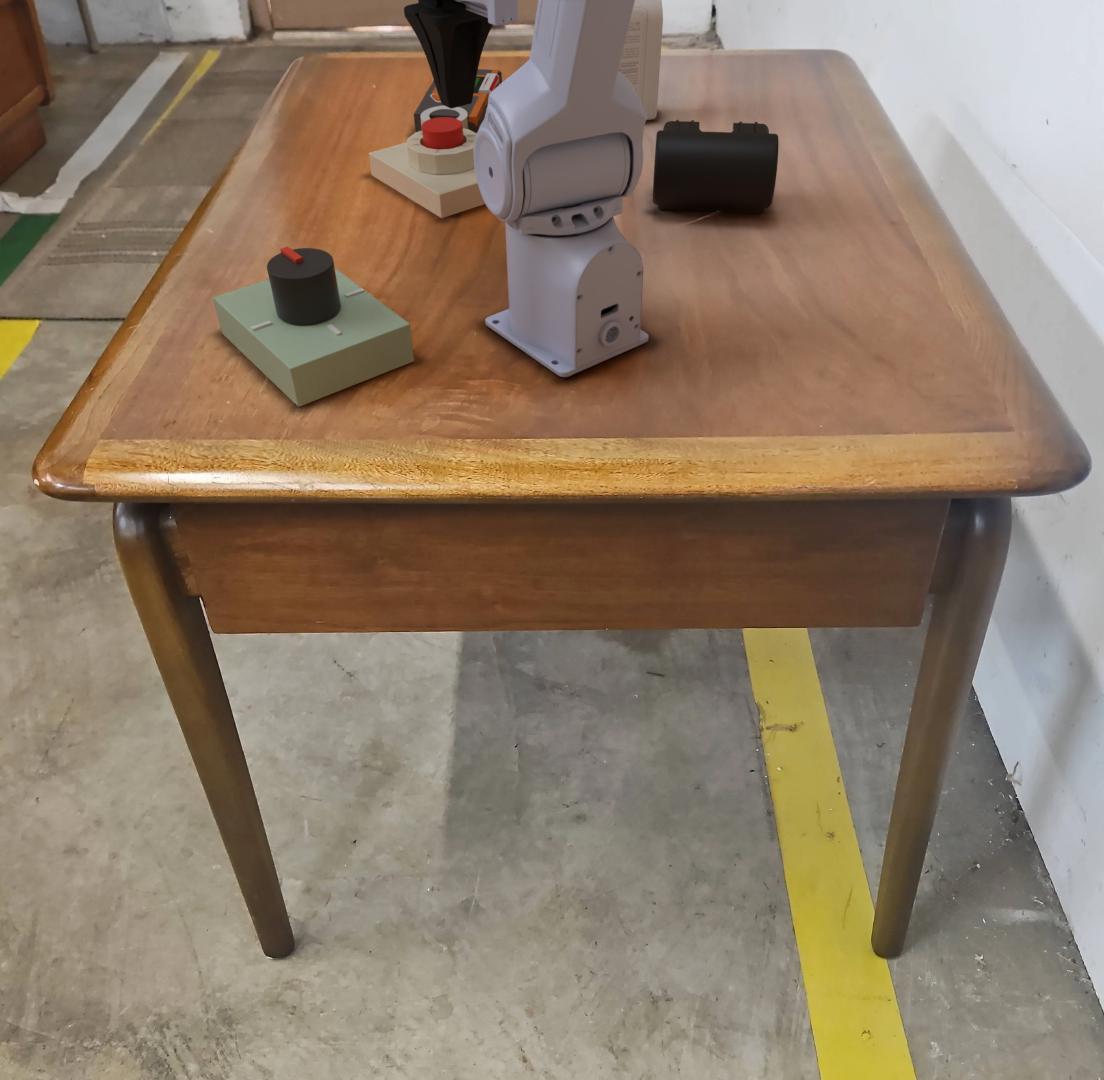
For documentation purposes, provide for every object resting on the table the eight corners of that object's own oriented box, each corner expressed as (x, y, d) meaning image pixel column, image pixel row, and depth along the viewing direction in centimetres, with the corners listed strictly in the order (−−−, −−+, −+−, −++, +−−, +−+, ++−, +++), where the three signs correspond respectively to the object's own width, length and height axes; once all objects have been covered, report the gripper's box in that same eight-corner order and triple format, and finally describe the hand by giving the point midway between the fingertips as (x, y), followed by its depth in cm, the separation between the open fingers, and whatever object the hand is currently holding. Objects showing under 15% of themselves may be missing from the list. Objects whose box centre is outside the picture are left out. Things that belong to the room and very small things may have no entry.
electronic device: (407, 120, 99) (441, 62, 110) (410, 149, 101) (444, 90, 112) (475, 123, 98) (503, 65, 109) (477, 153, 100) (504, 93, 111)
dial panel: (414, 361, 71) (409, 321, 69) (298, 407, 67) (289, 366, 65) (331, 295, 78) (324, 257, 76) (221, 334, 74) (211, 294, 72)
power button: (471, 145, 91) (470, 125, 90) (437, 155, 89) (436, 135, 88) (449, 133, 93) (447, 114, 92) (415, 143, 92) (413, 123, 90)
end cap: (651, 223, 87) (655, 144, 83) (654, 189, 92) (658, 112, 88) (769, 228, 86) (780, 148, 82) (766, 193, 91) (776, 116, 87)
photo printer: (650, 107, 108) (657, -23, 99) (662, 121, 105) (670, -12, 96) (555, 116, 106) (554, -15, 98) (565, 131, 103) (565, -4, 95)
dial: (353, 310, 70) (344, 260, 68) (296, 332, 68) (286, 280, 66) (320, 287, 73) (311, 237, 70) (265, 307, 71) (254, 257, 68)
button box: (525, 192, 92) (523, 147, 90) (441, 219, 88) (437, 173, 85) (451, 152, 99) (448, 110, 97) (371, 176, 95) (365, 132, 93)
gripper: (340, -107, 73) (365, 90, 82) (452, -73, 64) (466, 143, 74) (423, -119, 76) (439, 71, 85) (540, -88, 68) (544, 120, 77)
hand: (456, 103), depth 80 cm, fingers closed
